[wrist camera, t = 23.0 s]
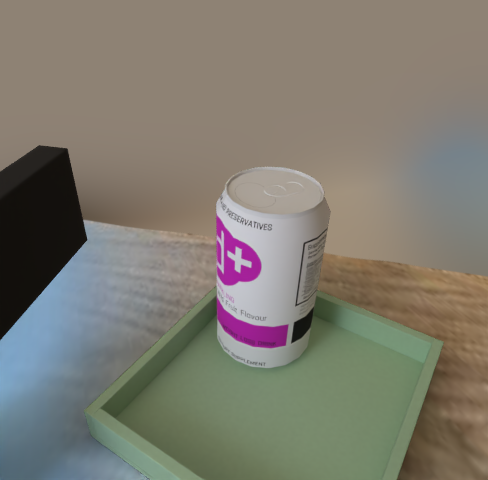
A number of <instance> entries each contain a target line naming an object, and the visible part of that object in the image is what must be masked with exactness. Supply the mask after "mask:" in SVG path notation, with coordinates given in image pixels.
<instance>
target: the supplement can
mask: <svg viewBox="0 0 488 480" xmlns="http://www.w3.org/2000/svg"><path fill="white" fill-rule="evenodd" d="M216 204H217V205H216V210H217V211H216V212H217V213H216V215H217V218H216V219H217V338H218V340H219V342H220V344H221V346H222V348H223V350H224V351H225V352H226V353H228V354H229V355H230V356H231V357H232V358H234V359H235V360H236V361H239V362H241V363H244V364H246V365H249V366H251V367H261V368H273V367H278V366H283V365H287V364H288V363H290V362H292V361H294V360H295V359H297V358H299V357H300V356H301V354H302V353H303V352H304V350H305V349H306V348H307V346H308V341H309V336H310V330H311V324H312V318H313V312H314V306H315V301H316V295H317V289H318V283H319V277H320V271H321V265H322V259H323V253H324V247H325V241H326V234H327V229H328V223H329V217H330V209H329V207H328V204H327V202H326V199H325V197H324V190H323V188H322V186H321V184H320V183H319V182H318V181H317V180H315V179H314V178H313V177H311V176H309V175H307V174H304V173H302V172H300V171H296V170H292V169H288V168H282V167H259V168H251V169H247V170H244V171H240V172H238V173H237V174H235V175H234V176H232V177H230V178H229V180H228V181H227V183H226V184H225V190H224V191H223V193H222V195H221V196H220V198H219V200H218V201H217V203H216Z"/></svg>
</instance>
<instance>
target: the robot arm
mask: <svg viewBox="0 0 488 480" xmlns="http://www.w3.org/2000/svg"><path fill="white" fill-rule="evenodd" d="M86 241H87V236H86V232H85V227H84V222H83V218H82V213H81V209H80V205H79V200H78V195H77V191H76V186H75V181H74V177H73V172H72V168H71V163H70V158H69V154H68V149H67V148H58V147H49V146H40V145H39V146H38V147H36V148H35V149H33V150H32V151H30V152H29V153H27V154H26V155H24V156H23V157H21V158H20V159H18V160H17V161H16V162H14V163H12V164H11V165H9V166H8V167H6V168H5V169H3V170H2V171H1V172H0V340H1V339H2V338H3V336H4V335H5V334H6V333H7V332H8V331H9V330H10V328H11V327H12V326H13V325H14V324H15V323H16V321H17V320H18V319H19V318H20V317H21V316H22V315H23V313H24V312H25V311H26V310H27V309H28V308H29V306H30V305H31V304H32V303H33V302H34V301H35V300H36V298H37V297H38V296H39V295H40V294H41V293H42V292H43V290H44V289H45V288H46V287H47V286H48V285H49V283H50V282H51V281H52V280H53V279H54V278H55V277H56V275H57V274H58V273H59V272H60V271H61V270H62V268H63V267H64V266H65V265H66V264H67V263H68V262H69V260H70V259H71V258H72V257H73V256H74V255H75V254H76V252H77V251H78V250H79V249H80V248H81V247H82V245H83V244H84V243H85V242H86Z"/></svg>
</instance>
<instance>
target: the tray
mask: <svg viewBox="0 0 488 480" xmlns="http://www.w3.org/2000/svg"><path fill="white" fill-rule="evenodd" d="M443 344H444V342H443V341H440V340H438V339H435V338H433V337H431V336H428V335H426V334H423V333H421V332H419V331H416V330H414V329H411V328H409V327H406V326H404V325H401V324H399V323H397V322H394V321H392V320H389V319H387V318H384V317H382V316H380V315H377V314H375V313H372V312H370V311H367V310H365V309H362V308H360V307H358V306H355V305H353V304H350V303H348V302H345V301H343V300H341V299H338V298H336V297H333V296H331V295H328V294H326V293H323V292H321V291H319V290H317V295H316V301H315V306H314V312H313V318H312V324H311V330H310V336H309V341H308V346H307V348H306V349H305V350H304V352H303V353H302V354H301V356H300V357H299V358H297V359H295V360H294V361H292V362H290V363H288V364H287V365H283V366H278V367H273V368H261V367H251V366H249V365H246V364H244V363H241V362H239V361H236V360H235V359H234V358H232V357H231V356H230V355H229V354H228V353H226V352H225V351H224V350H223V348H222V346H221V344H220V342H219V340H218V338H217V286H215V287H214V288H213V289H212V290H211V291H210V292H209V293H208V294H207V295H206V296H205V297H204V298H203V299H202V300H201V301H200V302H199V303H197V304H196V305H195V306H194V307H193V308H192V309H191V310H190V311H189V312H188V313H187V314H186V315H185V316H184V317H183V318H182V319H180V320H179V321H178V322H177V323H176V324H175V325H174V326H173V327H172V328H171V329H170V330H169V331H168V332H167V333H166V334H165V335H164V336H162V337H161V338H160V339H159V340H158V341H157V342H156V343H155V344H154V345H153V346H152V347H151V348H150V349H149V350H148V351H147V352H145V353H144V354H143V355H142V356H141V357H140V358H139V359H138V360H137V361H136V362H135V363H134V364H133V365H132V366H131V367H130V368H129V369H127V370H126V371H125V372H124V373H123V374H122V375H121V376H120V377H119V378H118V379H117V380H116V381H115V382H114V383H113V384H112V385H111V386H109V387H108V388H107V389H106V390H105V391H104V392H103V393H102V394H101V395H100V396H99V397H98V398H97V399H96V400H95V401H94V402H92V403H91V404H90V405H89V406H88V407H87V408H86V409H85V410H84V413H85V417H86V420H87V423H88V427H89V430H90V434H91V436H92V437H93V438H95V439H96V440H97V441H99V442H100V443H101V444H103V445H104V446H105V447H107V448H108V449H109V450H111V451H112V452H114V453H115V454H116V455H118V456H119V457H120V458H122V459H123V460H124V461H126V462H127V463H128V464H130V465H131V466H133V467H134V468H135V469H137V470H138V471H139V472H141V473H142V474H143V475H145V476H146V477H148V478H149V479H150V480H397V478H398V475H399V473H400V470H401V467H402V464H403V461H404V458H405V455H406V452H407V449H408V446H409V443H410V440H411V437H412V434H413V432H414V429H415V426H416V423H417V420H418V417H419V414H420V411H421V408H422V405H423V402H424V399H425V396H426V393H427V391H428V388H429V385H430V382H431V379H432V376H433V373H434V370H435V367H436V364H437V361H438V358H439V355H440V353H441V350H442V347H443Z"/></svg>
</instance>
